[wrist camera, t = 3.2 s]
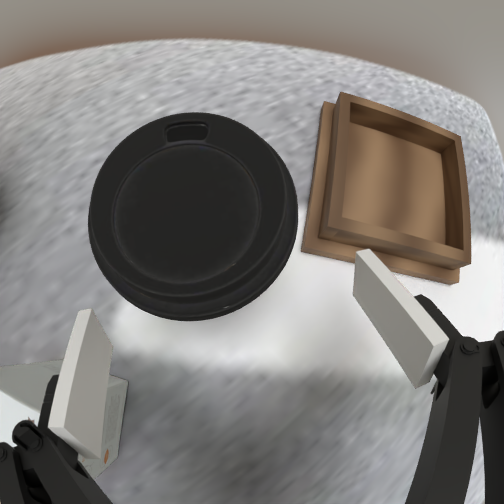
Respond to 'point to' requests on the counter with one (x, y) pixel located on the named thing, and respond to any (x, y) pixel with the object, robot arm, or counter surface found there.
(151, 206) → the coffee cup
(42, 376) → the small box
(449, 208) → the wooden tray
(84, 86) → the counter surface
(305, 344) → the counter surface
